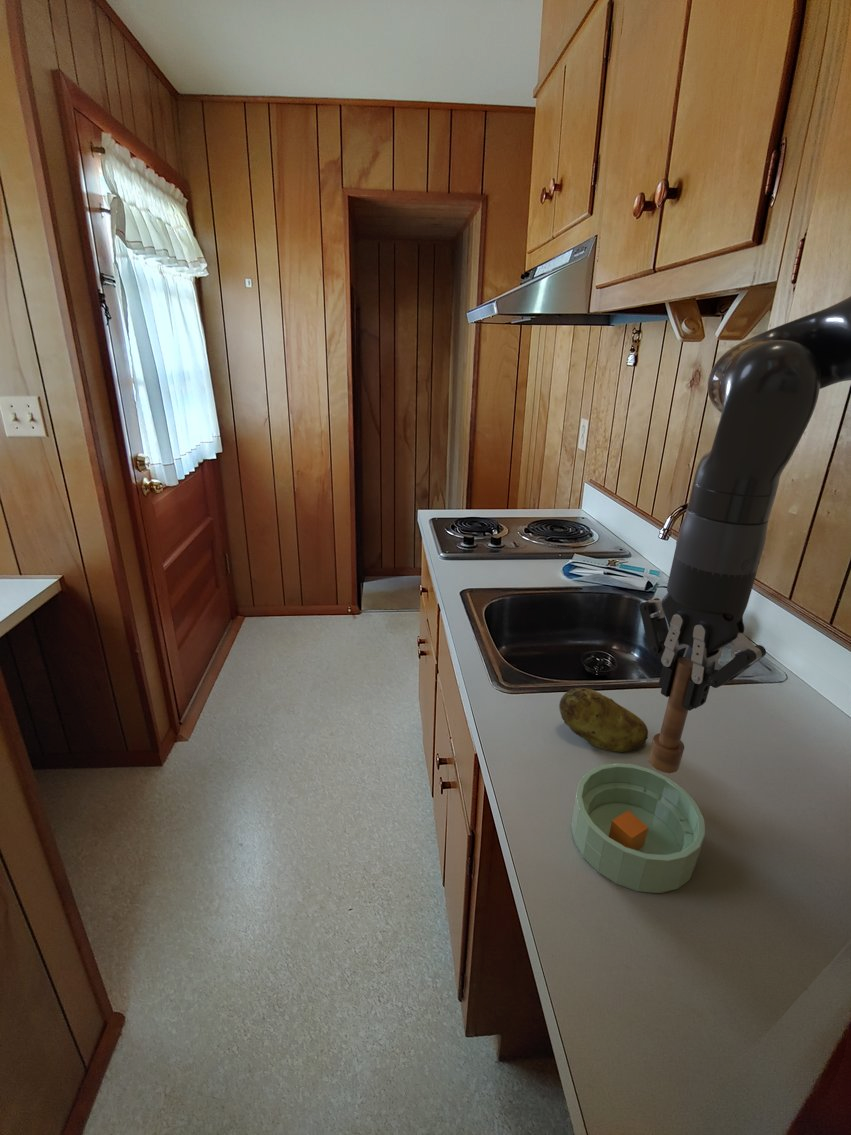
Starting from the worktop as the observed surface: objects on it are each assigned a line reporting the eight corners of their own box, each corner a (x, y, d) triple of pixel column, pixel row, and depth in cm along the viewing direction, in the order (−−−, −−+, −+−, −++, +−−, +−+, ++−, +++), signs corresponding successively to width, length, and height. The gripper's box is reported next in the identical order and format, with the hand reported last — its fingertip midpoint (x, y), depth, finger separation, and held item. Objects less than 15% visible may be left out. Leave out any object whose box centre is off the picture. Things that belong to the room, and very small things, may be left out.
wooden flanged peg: (660, 748, 67) (684, 650, 62) (685, 766, 64) (713, 665, 59) (642, 759, 65) (665, 658, 60) (666, 777, 63) (693, 674, 57)
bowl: (622, 782, 77) (629, 749, 75) (719, 860, 66) (731, 824, 64) (546, 826, 70) (552, 790, 68) (640, 921, 59) (650, 883, 57)
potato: (633, 774, 79) (643, 729, 76) (549, 738, 85) (555, 696, 82) (648, 742, 85) (658, 699, 82) (568, 711, 92) (574, 670, 88)
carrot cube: (624, 827, 69) (628, 810, 68) (644, 845, 67) (648, 827, 66) (608, 838, 68) (611, 820, 67) (627, 856, 65) (632, 838, 64)
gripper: (809, 574, 51) (759, 724, 58) (677, 530, 62) (649, 661, 69) (765, 591, 47) (717, 749, 54) (633, 541, 58) (607, 678, 65)
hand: (679, 699), depth 61 cm, fingers closed on wooden flanged peg, 2 cm apart
